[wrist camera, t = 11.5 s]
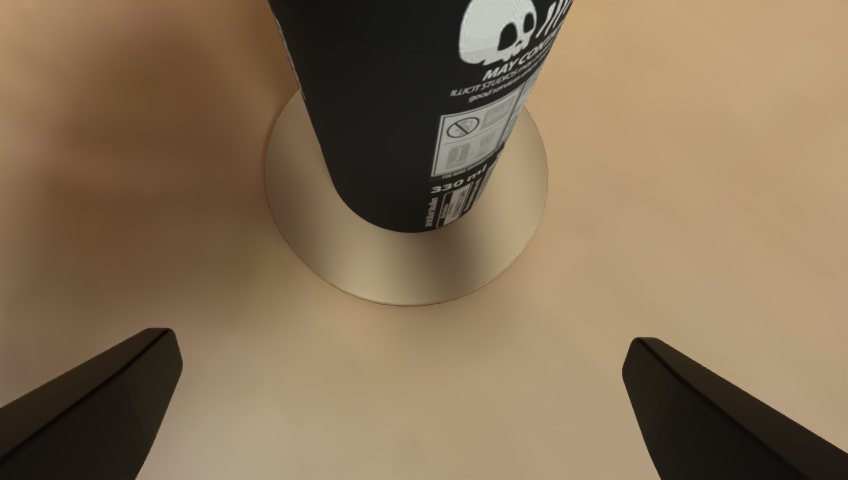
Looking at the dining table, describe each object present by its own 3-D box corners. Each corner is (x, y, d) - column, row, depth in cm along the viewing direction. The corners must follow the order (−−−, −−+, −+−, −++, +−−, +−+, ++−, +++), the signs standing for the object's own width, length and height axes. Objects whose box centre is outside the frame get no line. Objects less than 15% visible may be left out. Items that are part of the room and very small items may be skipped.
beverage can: (333, 99, 19) (229, -332, 7) (480, 99, 19) (602, -307, 8) (329, 241, 17) (178, -39, 5) (492, 238, 17) (679, -27, 6)
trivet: (339, 360, 16) (336, 359, 15) (229, 114, 19) (222, 104, 18) (594, 229, 18) (602, 223, 18) (461, 26, 21) (464, 13, 20)
